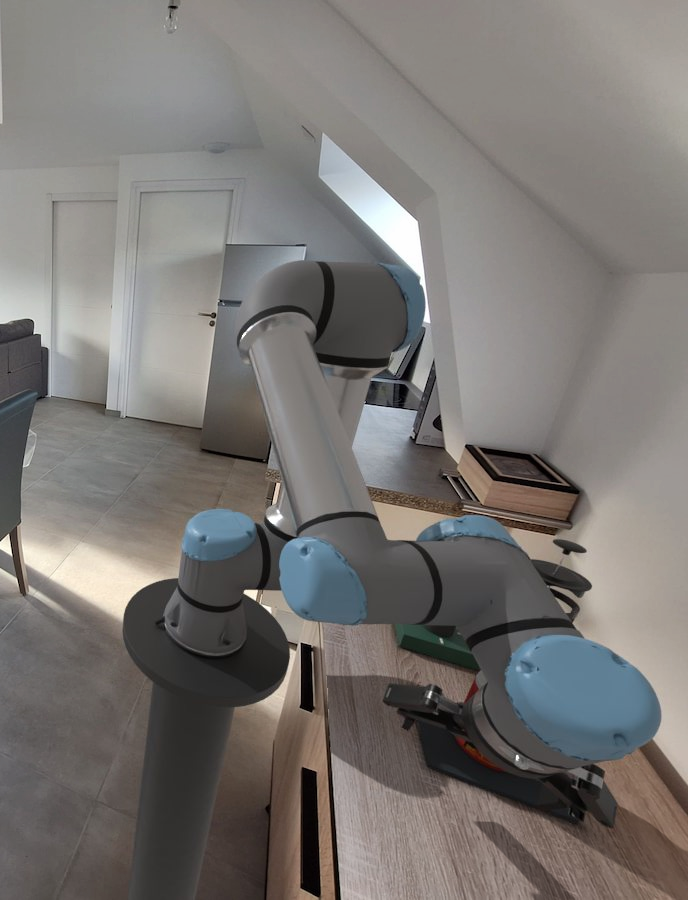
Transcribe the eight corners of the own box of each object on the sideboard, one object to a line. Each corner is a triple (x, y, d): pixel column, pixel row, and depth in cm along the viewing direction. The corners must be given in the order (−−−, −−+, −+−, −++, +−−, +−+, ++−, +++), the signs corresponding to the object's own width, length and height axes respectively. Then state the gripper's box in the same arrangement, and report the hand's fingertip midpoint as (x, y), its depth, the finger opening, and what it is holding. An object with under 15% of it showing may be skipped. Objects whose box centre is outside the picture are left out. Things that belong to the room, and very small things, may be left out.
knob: (456, 640, 83) (473, 599, 79) (423, 631, 84) (439, 590, 81) (449, 623, 87) (465, 583, 83) (418, 615, 89) (432, 575, 85)
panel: (399, 646, 85) (404, 633, 84) (391, 613, 93) (395, 601, 92) (478, 670, 80) (484, 656, 79) (462, 633, 89) (468, 620, 87)
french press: (561, 679, 79) (622, 568, 71) (492, 655, 84) (542, 549, 75) (543, 637, 88) (595, 536, 80) (482, 618, 93) (525, 520, 85)
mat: (427, 767, 64) (428, 764, 63) (409, 691, 75) (410, 688, 75) (577, 824, 57) (579, 821, 57) (532, 732, 69) (534, 729, 69)
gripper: (360, 682, 49) (352, 718, 64) (734, 887, 33) (607, 872, 48) (384, 621, 51) (371, 670, 66) (744, 785, 36) (620, 801, 51)
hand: (470, 755), depth 57 cm, fingers open, 13 cm apart
